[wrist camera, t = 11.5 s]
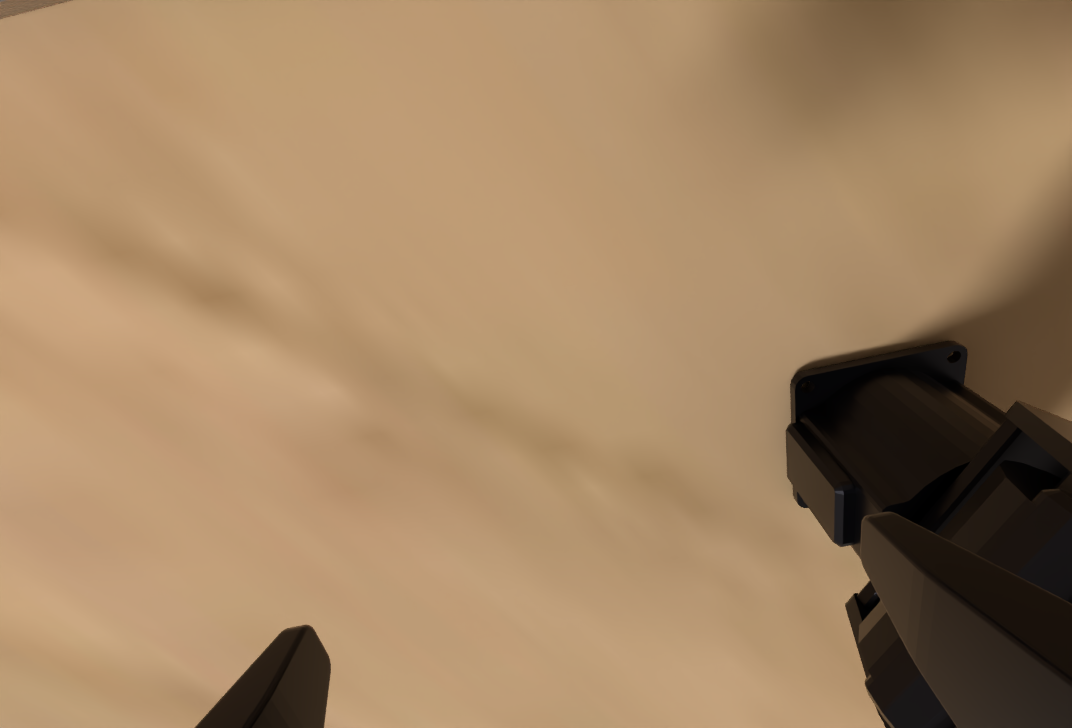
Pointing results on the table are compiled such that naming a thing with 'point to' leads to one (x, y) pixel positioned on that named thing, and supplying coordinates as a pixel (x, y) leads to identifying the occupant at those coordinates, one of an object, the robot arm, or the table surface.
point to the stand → (24, 6)
